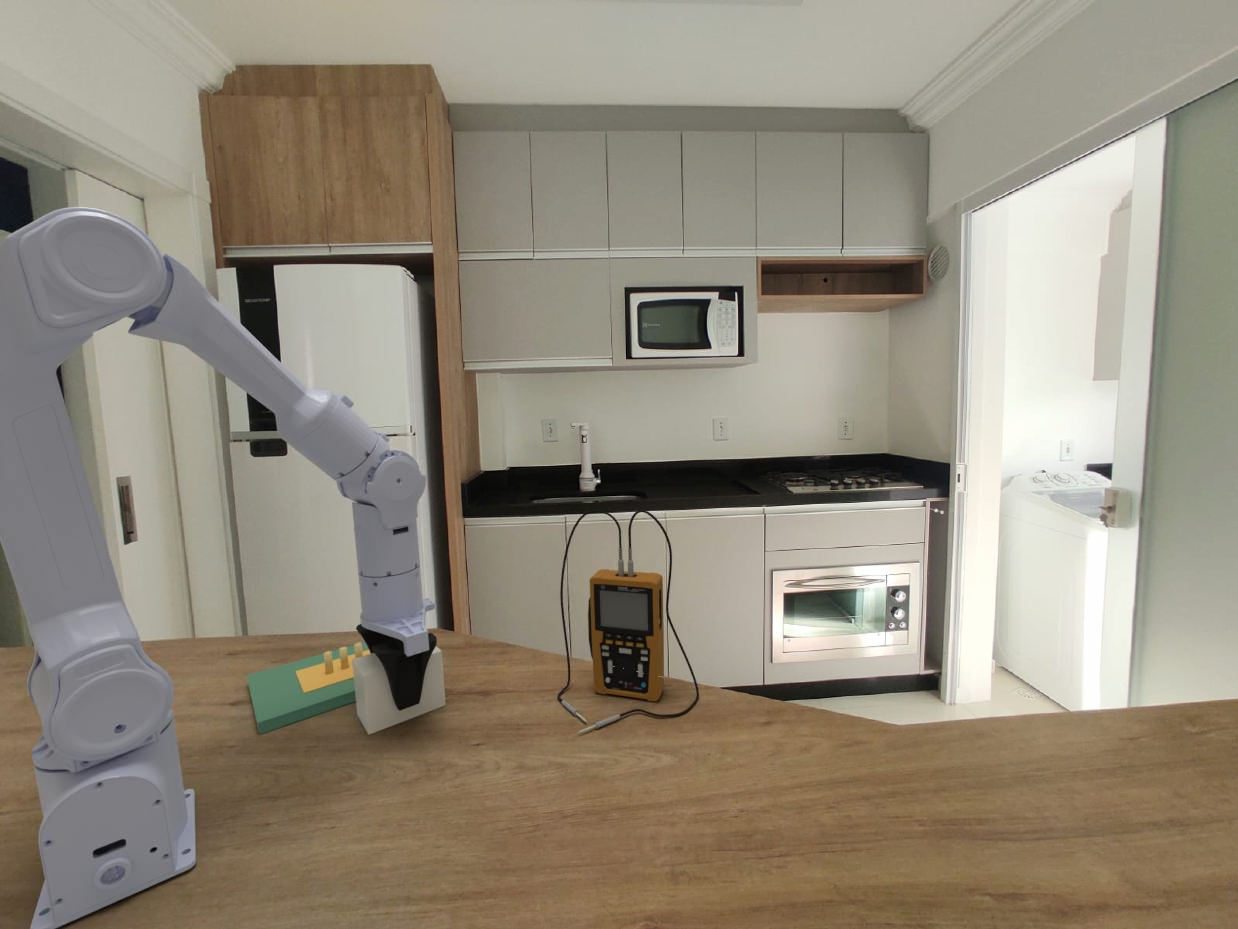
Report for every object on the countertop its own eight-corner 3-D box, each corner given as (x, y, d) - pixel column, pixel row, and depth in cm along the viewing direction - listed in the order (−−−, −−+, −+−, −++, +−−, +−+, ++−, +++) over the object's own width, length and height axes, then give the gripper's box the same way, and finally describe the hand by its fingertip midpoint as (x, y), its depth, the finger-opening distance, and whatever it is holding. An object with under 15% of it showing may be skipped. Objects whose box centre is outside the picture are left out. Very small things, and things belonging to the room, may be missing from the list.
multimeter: (532, 729, 52) (521, 527, 50) (571, 677, 62) (564, 505, 59) (682, 755, 48) (679, 535, 45) (700, 694, 57) (698, 510, 55)
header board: (441, 671, 64) (438, 642, 63) (259, 734, 53) (254, 699, 52) (408, 638, 73) (406, 611, 73) (248, 685, 62) (244, 654, 62)
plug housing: (445, 705, 57) (441, 651, 56) (368, 735, 52) (362, 676, 51) (430, 688, 60) (427, 637, 59) (357, 714, 56) (351, 659, 55)
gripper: (456, 576, 51) (465, 711, 53) (407, 545, 62) (416, 657, 64) (377, 595, 47) (390, 741, 48) (340, 558, 58) (351, 678, 60)
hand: (400, 695), depth 56 cm, fingers closed on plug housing, 4 cm apart
